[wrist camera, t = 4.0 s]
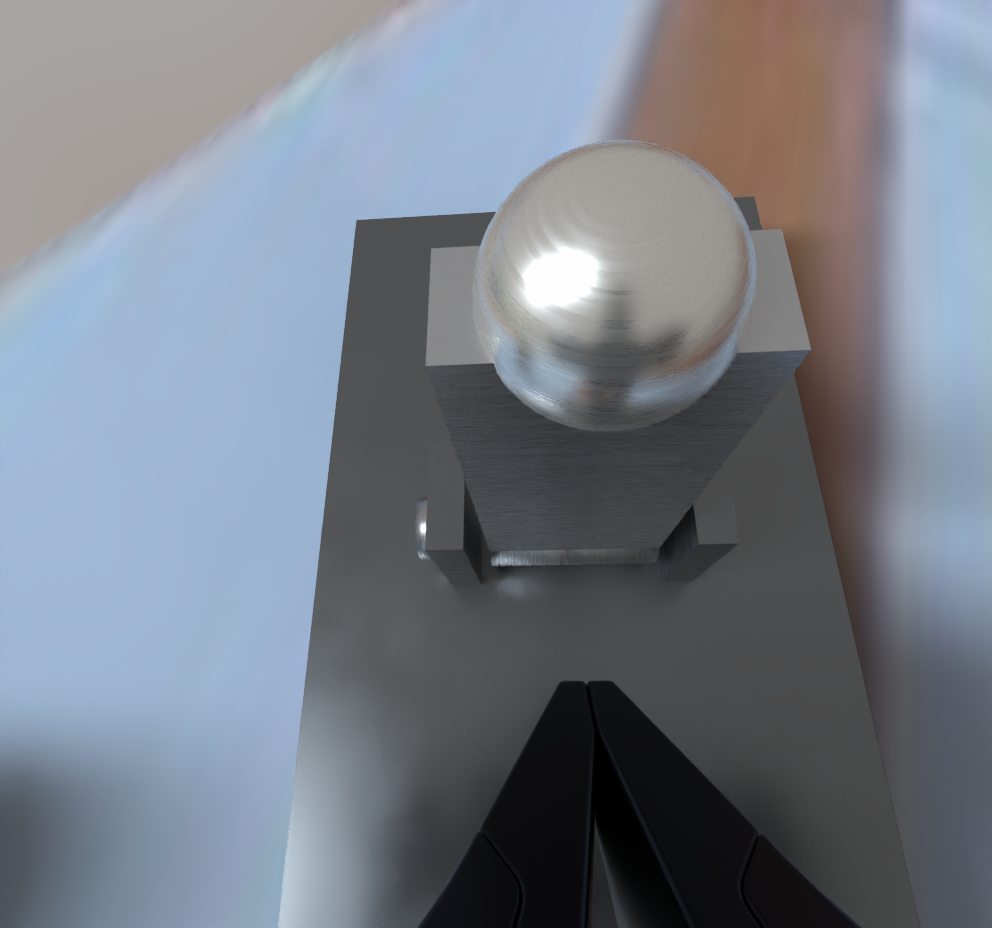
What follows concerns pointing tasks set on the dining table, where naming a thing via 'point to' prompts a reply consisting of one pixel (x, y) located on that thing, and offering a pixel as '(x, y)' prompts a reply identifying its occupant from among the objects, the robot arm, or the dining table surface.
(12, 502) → the dining table surface
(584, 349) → the lever
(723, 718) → the lever base
